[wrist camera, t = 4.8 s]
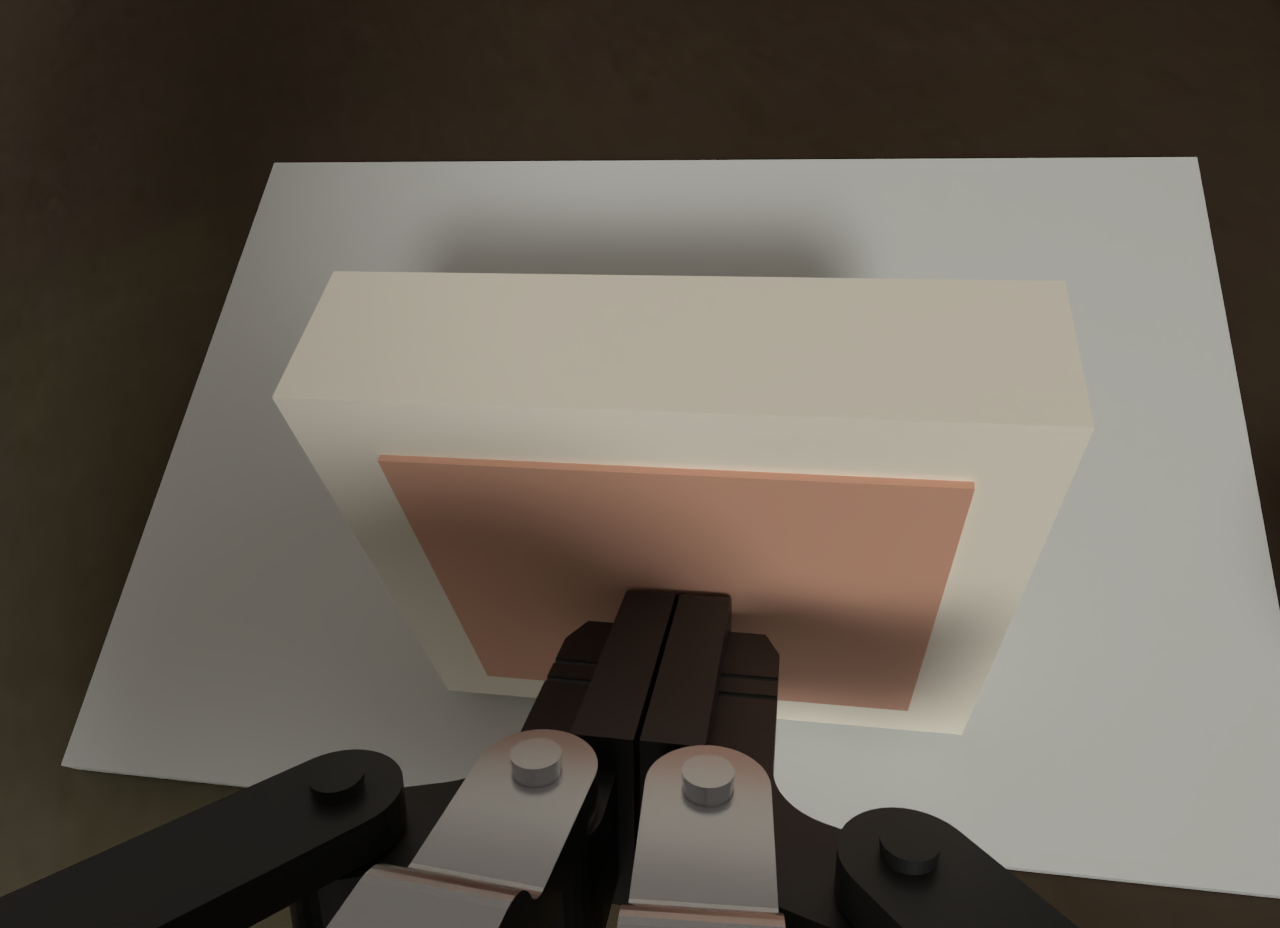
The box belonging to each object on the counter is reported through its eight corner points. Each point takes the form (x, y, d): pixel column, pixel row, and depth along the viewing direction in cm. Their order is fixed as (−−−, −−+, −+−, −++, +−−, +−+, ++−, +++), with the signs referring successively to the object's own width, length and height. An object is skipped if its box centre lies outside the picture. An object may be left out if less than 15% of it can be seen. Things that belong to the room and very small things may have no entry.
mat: (77, 769, 18) (60, 765, 18) (283, 176, 25) (274, 162, 24) (1315, 902, 15) (1332, 902, 15) (1188, 172, 21) (1197, 157, 21)
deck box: (447, 695, 17) (268, 404, 11) (477, 586, 19) (333, 271, 12) (962, 740, 16) (1095, 435, 10) (953, 618, 17) (1064, 281, 11)
